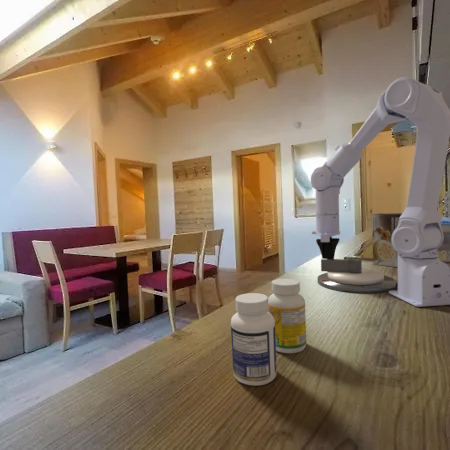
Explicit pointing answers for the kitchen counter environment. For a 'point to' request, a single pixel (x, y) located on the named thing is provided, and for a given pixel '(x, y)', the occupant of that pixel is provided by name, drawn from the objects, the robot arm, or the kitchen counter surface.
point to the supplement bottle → (288, 315)
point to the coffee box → (384, 238)
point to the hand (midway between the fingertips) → (328, 265)
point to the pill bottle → (253, 340)
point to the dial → (350, 272)
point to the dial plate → (374, 288)
